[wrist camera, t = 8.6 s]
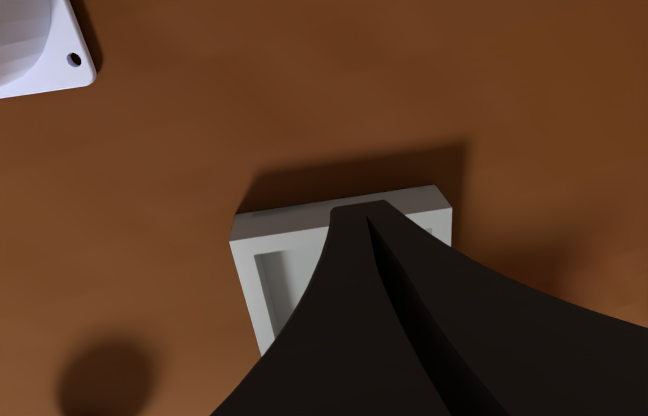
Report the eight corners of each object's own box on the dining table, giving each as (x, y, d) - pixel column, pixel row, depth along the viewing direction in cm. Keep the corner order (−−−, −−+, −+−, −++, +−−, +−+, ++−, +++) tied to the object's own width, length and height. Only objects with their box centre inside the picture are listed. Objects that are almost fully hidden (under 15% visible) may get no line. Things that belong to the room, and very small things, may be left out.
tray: (234, 214, 20) (228, 241, 18) (434, 184, 20) (452, 207, 18) (283, 397, 27) (283, 432, 25) (432, 373, 27) (445, 406, 25)
